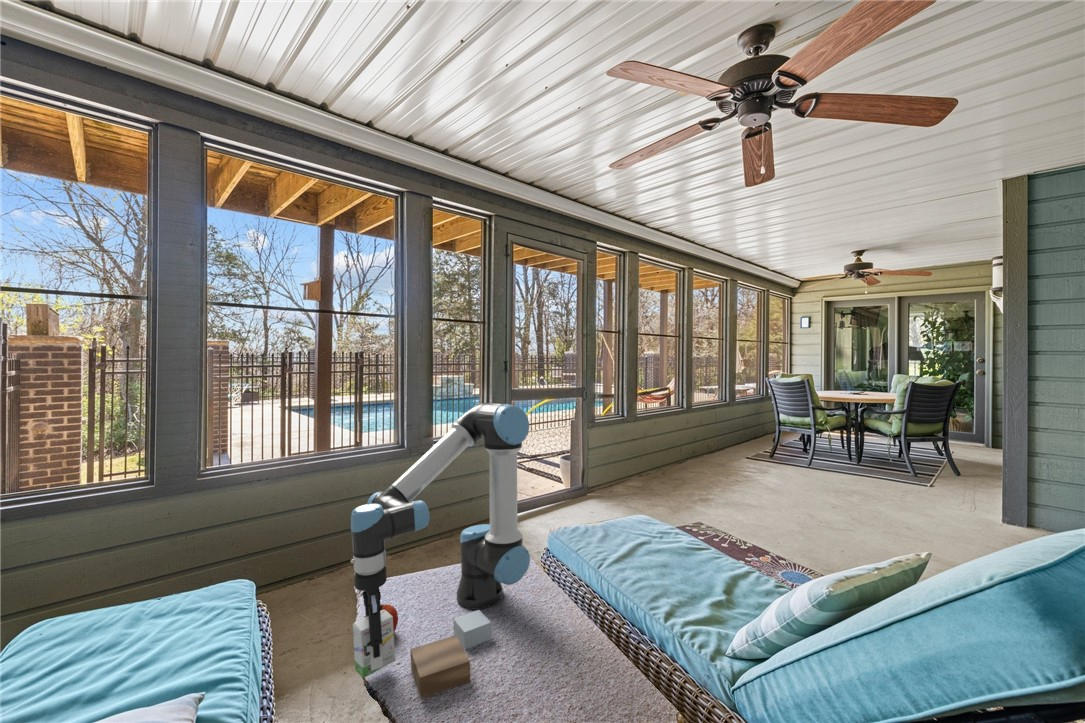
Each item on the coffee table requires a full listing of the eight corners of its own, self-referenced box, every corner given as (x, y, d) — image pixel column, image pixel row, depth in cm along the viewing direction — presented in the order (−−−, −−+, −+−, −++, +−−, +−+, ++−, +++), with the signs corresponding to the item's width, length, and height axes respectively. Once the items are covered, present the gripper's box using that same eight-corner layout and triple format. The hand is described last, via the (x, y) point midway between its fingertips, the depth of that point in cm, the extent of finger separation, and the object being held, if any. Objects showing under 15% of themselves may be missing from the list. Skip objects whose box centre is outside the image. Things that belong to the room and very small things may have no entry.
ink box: (363, 679, 110) (360, 631, 109) (354, 670, 113) (351, 623, 113) (396, 661, 116) (393, 615, 115) (387, 652, 119) (384, 608, 119)
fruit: (402, 639, 129) (401, 604, 129) (366, 651, 124) (365, 615, 124) (394, 623, 138) (393, 590, 138) (360, 634, 133) (359, 600, 133)
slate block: (453, 636, 131) (453, 618, 131) (479, 626, 135) (478, 609, 135) (465, 650, 124) (464, 632, 124) (491, 640, 128) (491, 622, 128)
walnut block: (411, 668, 117) (410, 649, 117) (456, 653, 123) (456, 635, 122) (420, 699, 106) (420, 677, 106) (470, 681, 112) (469, 661, 112)
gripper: (351, 557, 121) (356, 643, 121) (357, 589, 104) (362, 689, 104) (380, 550, 124) (385, 634, 125) (391, 581, 107) (397, 678, 108)
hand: (375, 659), depth 114 cm, fingers closed on ink box, 6 cm apart
